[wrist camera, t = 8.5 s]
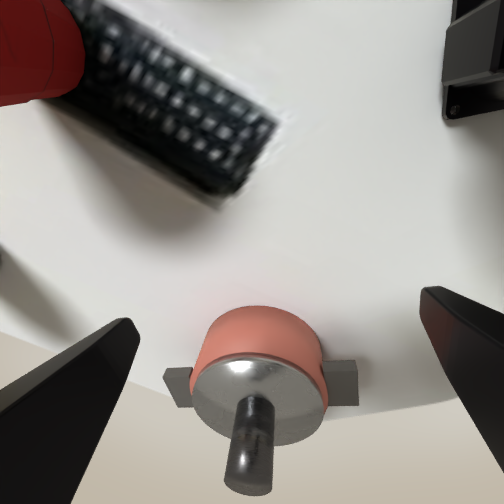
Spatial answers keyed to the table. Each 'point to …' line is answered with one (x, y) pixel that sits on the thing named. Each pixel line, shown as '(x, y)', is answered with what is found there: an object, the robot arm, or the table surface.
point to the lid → (256, 412)
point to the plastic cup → (38, 50)
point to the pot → (269, 342)
